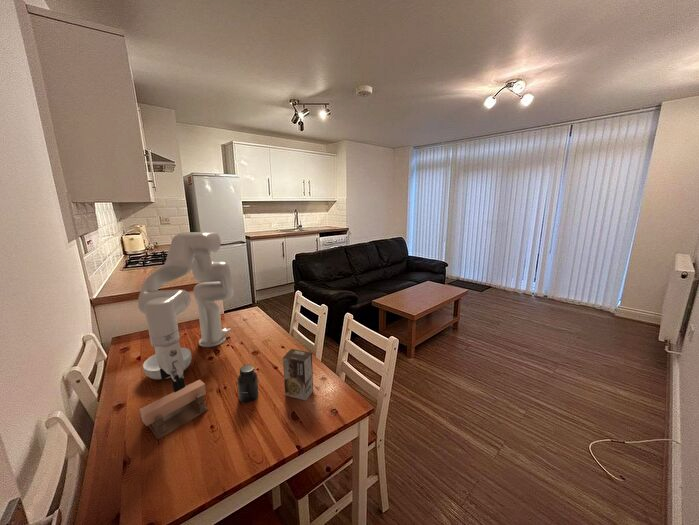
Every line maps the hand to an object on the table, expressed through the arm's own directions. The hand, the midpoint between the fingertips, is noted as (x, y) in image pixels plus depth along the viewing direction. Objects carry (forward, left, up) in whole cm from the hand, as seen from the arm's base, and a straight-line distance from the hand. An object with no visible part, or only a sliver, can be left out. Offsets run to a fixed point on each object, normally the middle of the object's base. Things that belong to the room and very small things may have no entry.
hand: (173, 383), depth 90 cm
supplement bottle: (-20, +12, -12) cm, 26 cm away
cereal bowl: (-8, -27, -12) cm, 31 cm away
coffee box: (-33, +25, -12) cm, 43 cm away
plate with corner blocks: (0, +1, -12) cm, 12 cm away
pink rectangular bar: (0, 0, -8) cm, 8 cm away
